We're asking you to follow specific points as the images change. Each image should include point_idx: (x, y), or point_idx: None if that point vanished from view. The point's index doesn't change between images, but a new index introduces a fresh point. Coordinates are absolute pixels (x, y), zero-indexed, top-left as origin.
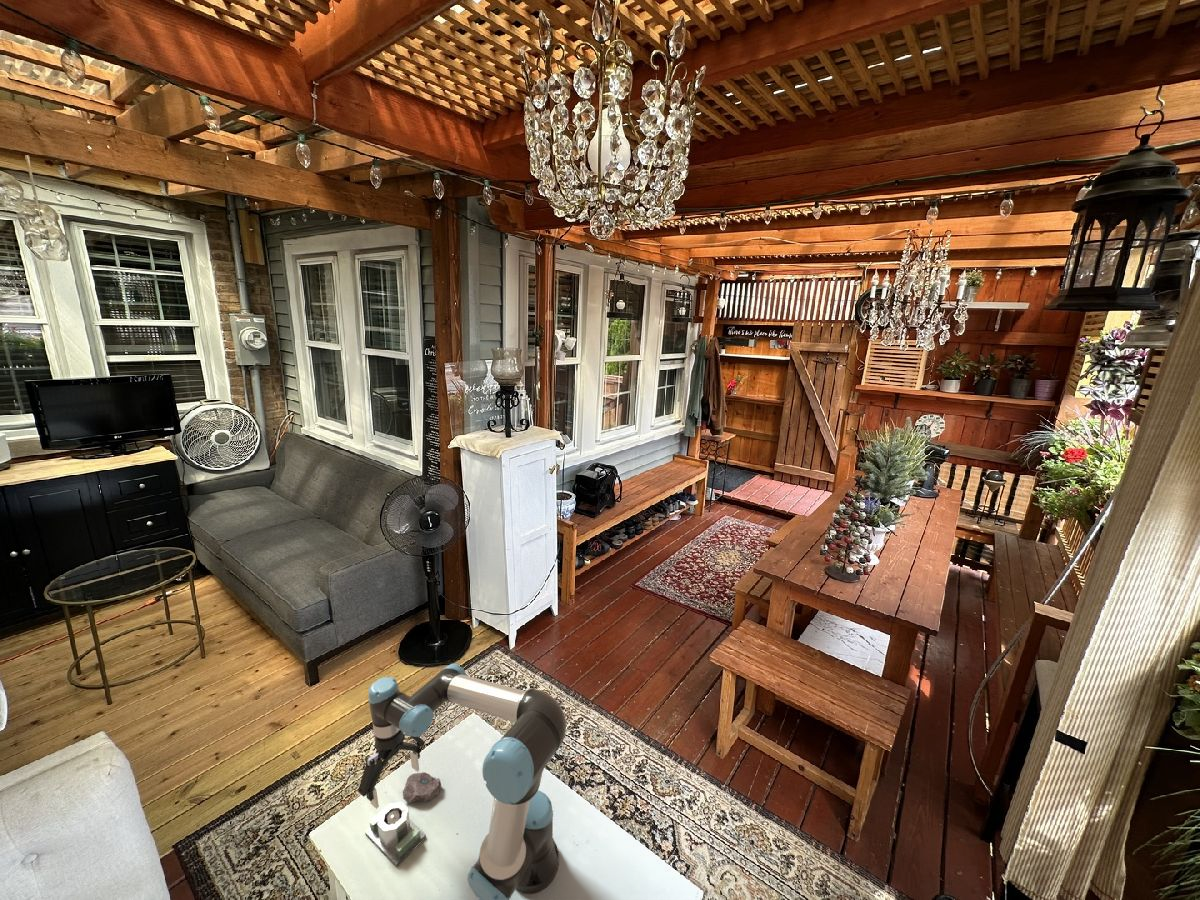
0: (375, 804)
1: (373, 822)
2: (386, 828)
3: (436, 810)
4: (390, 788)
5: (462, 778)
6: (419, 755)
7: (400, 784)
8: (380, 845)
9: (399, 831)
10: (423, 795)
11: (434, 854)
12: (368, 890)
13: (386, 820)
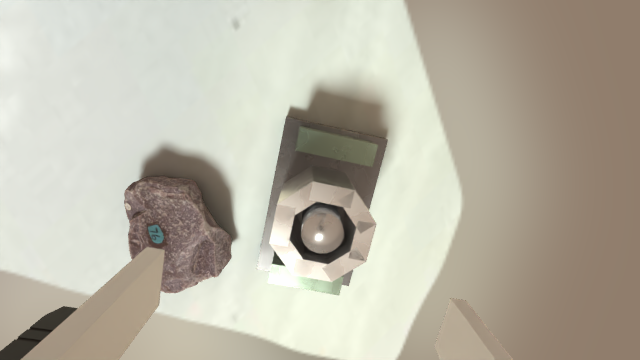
0: (482, 325)
1: (336, 282)
2: (366, 222)
3: (208, 142)
4: (220, 315)
5: (78, 132)
6: (39, 325)
7: (197, 299)
8: None
9: (341, 181)
10: (196, 204)
11: (317, 55)
12: (454, 167)
13: None
